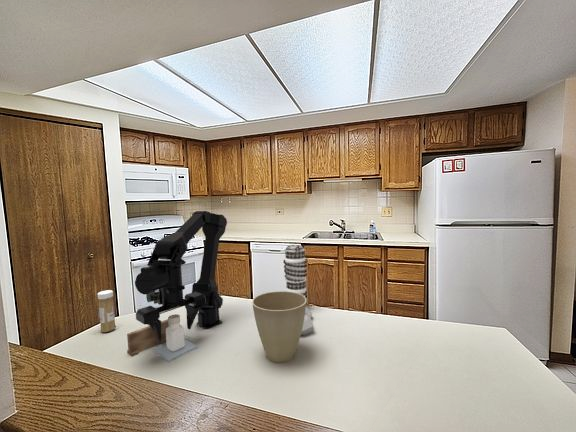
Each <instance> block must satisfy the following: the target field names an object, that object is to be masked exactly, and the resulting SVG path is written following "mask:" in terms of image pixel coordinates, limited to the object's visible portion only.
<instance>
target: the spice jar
mask: <svg viewBox="0 0 576 432" xmlns="http://www.w3.org/2000/svg"><path fill="white" fill-rule="evenodd" d="M97 300H98V310H99V311H98V313H99V314H98V315H99V322H100V332H101V333H108V332H112V331H113V330H115V329H116V327H117V326H116V320H115V319H116V318H115V317H116V315H115V307H114V291H113V290H111V289H107V290H101V291H99V292H97Z"/></svg>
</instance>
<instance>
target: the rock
mask: <svg viewBox="0 0 576 432" xmlns="http://www.w3.org/2000/svg"><path fill="white" fill-rule="evenodd" d="M312 315H313V311H311V310H310V308H308V306H307V307H306V310H305V317H304V323H303V328H302V332H301V336H306V335H307V334H310V333H313V332H314V326H315V325H314V323H313V321H312Z"/></svg>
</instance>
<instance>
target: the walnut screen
mask: <svg viewBox="0 0 576 432" xmlns="http://www.w3.org/2000/svg"><path fill="white" fill-rule="evenodd" d="M167 327H169V324H168V318H167V319H165V320H161V342H159V341H158V340H157V338H156V336H155V334H154V332H153V330H152V328H151V327H150V326H149V325H147V326H145V327H141V328H140V329H137V330H134V331H131V332H128V333H127V334H126V338H127V350H126V353H127V354H128V355H129V356H131V357H134V356H137V355H139V352H142V351H144V350H148V349H150V348H152V347H155V346H157V345H159V344H161V343H163V342H166V328H167Z"/></svg>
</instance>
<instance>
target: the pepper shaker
mask: <svg viewBox="0 0 576 432" xmlns="http://www.w3.org/2000/svg"><path fill="white" fill-rule="evenodd" d="M167 319H168V324H169V327H167V328H166V341H165V344H167V348H168V349H169V350H171V351H172V352H174V351H176V350H179V349H181V348H183V347H184V346H185V342H184V339H185V330H184V329H185V328H184V326H183V325H182V324H181V316H180V314H171V315H169V316H167Z"/></svg>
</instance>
